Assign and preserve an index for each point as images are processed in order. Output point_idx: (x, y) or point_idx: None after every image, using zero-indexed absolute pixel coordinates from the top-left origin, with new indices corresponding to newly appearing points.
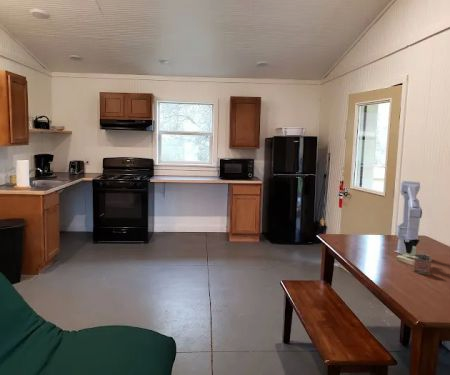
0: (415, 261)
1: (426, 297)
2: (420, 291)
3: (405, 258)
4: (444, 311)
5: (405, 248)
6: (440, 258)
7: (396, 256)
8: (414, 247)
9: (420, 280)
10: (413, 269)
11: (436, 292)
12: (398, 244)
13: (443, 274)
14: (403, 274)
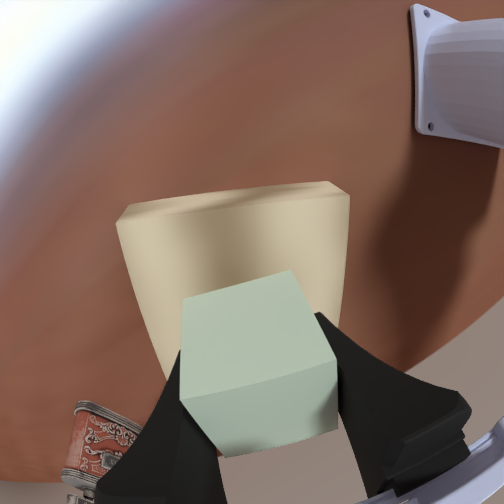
0: (67, 462)
1: (6, 463)
2: (5, 453)
3: (157, 318)
4: (14, 480)
5: (184, 371)
6: (500, 284)
7: (117, 223)
8: (264, 449)
9: (46, 443)
10: (83, 408)
11: (46, 473)
12: (487, 29)
13: (220, 452)
14: (6, 396)
